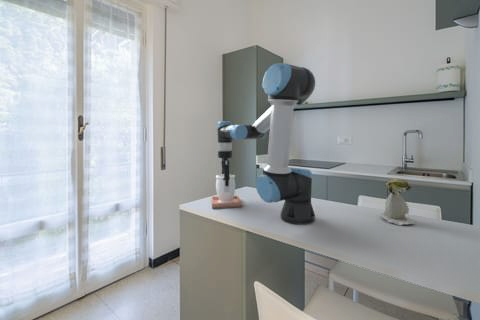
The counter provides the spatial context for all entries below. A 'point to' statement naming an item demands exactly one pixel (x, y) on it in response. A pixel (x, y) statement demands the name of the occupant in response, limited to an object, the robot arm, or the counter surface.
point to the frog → (397, 203)
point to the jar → (223, 196)
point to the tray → (236, 203)
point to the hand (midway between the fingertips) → (225, 189)
